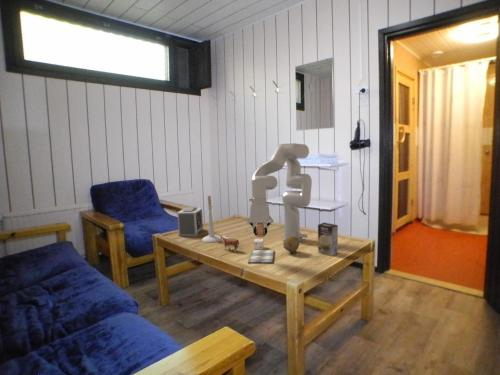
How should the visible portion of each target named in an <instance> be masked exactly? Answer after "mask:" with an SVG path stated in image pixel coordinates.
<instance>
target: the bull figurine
mask: <svg viewBox="0 0 500 375" xmlns="http://www.w3.org/2000/svg"><path fill="white" fill-rule="evenodd" d="M220 237H221V240H222V241H223V244H224V249H223V250H224V251H226V250H227V249H228V250H230V249H231V248H234V249H233V250H234V251H233V252H234V253H236V252H237V250H238V249H239V246H240V242H239V241H240V240H239V239H236V238H230V237H229V236H228V235H226V234H223V235H222V236H220ZM227 247H228V248H227ZM230 247H231V248H230Z"/></svg>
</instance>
